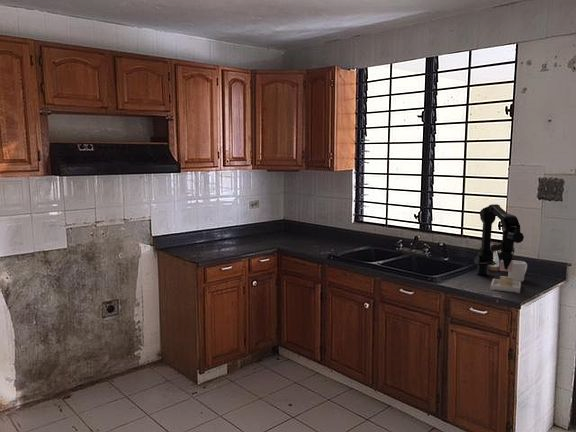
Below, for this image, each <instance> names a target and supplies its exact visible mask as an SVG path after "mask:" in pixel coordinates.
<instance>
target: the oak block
mask: <svg viewBox="0 0 576 432" xmlns="http://www.w3.org/2000/svg"><path fill="white" fill-rule="evenodd" d="M499 279H500V285H499V286H507V287H512V282H513V277H508V276H505V275H504V276H503V275H500V276H499Z"/></svg>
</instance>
